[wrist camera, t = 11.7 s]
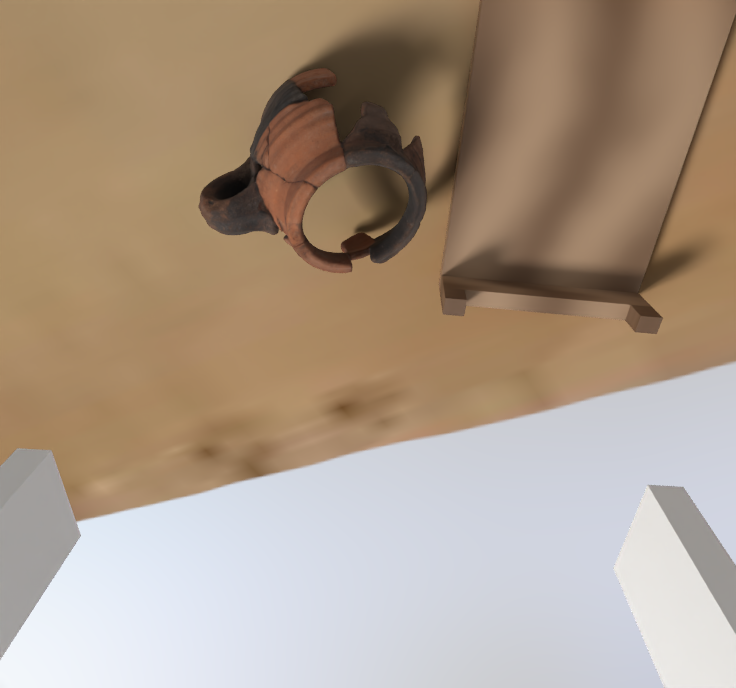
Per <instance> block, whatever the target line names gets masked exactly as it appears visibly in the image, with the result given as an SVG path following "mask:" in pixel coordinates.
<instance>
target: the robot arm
mask: <svg viewBox="0 0 736 688" xmlns="http://www.w3.org/2000/svg"><path fill="white" fill-rule="evenodd" d="M80 536H81V535H80V532H79V529H78V526H77V523H76V520H75V517H74V514H73V512H72V509H71V506H70V503H69V500H68V497H67V494H66V491H65V488H64V485H63V483H62V480H61V477H60V474H59V471H58V468H57V465H56V462H55V459H54V457H53V454H52V451H51V450H36V449H19V448H17V449H16V450H15V451H14V453H13V454H12V455H11V456H10V457H9V458H8V459H7V460H6V461H5V462H4V463H3V464H2V465H1V466H0V659H1V658H2V656H3V655H4V653H5V652H6V650H7V649H8V647H9V646H10V644H11V642H12V641H13V639H14V638H15V636H16V635H17V633H18V632H19V630H20V629H21V627H22V625H23V624H24V622H25V621H26V619H27V618H28V616H29V615H30V613H31V612H32V610H33V609H34V607H35V605H36V604H37V602H38V601H39V599H40V598H41V596H42V595H43V593H44V592H45V590H46V589H47V587H48V585H49V584H50V582H51V581H52V579H53V578H54V576H55V575H56V573H57V572H58V570H59V569H60V567H61V565H62V564H63V562H64V561H65V559H66V558H67V556H68V555H69V553H70V552H71V550H72V549H73V547H74V545H75V544H76V542H77V541H78V539H79V538H80ZM613 569H614V571H615V573H616V576H617V578H618V580H619V583H620V585H621V587H622V590H623V592H624V594H625V597H626V599H627V601H628V604H629V606H630V608H631V611H632V613H633V615H634V618H635V620H636V623H637V625H638V627H639V629H640V632H641V634H642V637H643V639H644V641H645V644H646V646H647V648H648V651H649V653H650V655H651V658H652V660H653V663H654V665H655V667H656V670H657V672H658V674H659V677H660V679H661V681H662V683H663V686H664V688H736V565H735V564H734V562H733V561H732V559H731V558H730V556H729V555H728V553H727V552H726V550H725V549H724V547H723V546H722V544H721V543H720V541H719V540H718V538H717V537H716V535H715V534H714V532H713V531H712V529H711V528H710V526H709V525H708V523H707V522H706V520H705V519H704V517H703V516H702V514H701V513H700V511H699V510H698V508H697V507H696V505H695V504H694V503H693V501H692V499H691V498H690V496H689V495H688V493H687V492H686V490H685V489H684V487H675V486H656V485H647V488H646V490H645V492H644V495H643V497H642V500H641V502H640V505H639V507H638V510H637V512H636V514H635V517H634V519H633V522H632V524H631V527H630V529H629V531H628V534H627V536H626V539H625V541H624V544H623V546H622V548H621V551H620V553H619V556H618V558H617V561H616V563H615V566H614V568H613Z"/></svg>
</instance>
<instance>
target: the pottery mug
mask: <svg viewBox="0 0 736 688" xmlns="http://www.w3.org/2000/svg"><path fill="white" fill-rule="evenodd" d="M336 83H337V79H336V75H335V74H334V73H333V72H331V71H330V70H329V69H326V68H320V69H313V70H309V71H306V72H303V73H300V74H299V75H296V76H294V77H293V78H291V79H290V80H287V81H286V82H285V83H284V84H282V85H281V86H280V87H279V88H278V89H277V90H276V91H275V92H274V94H273V95H272V96H271V98H270V100H269V101H268V103H267V105H266V107H265V109H264V112H263V115H262V118H261V123H260V125H259V127H258V129H257V131H256V134H255V137H254V141H253V144H252V145H251V148H250V153H251V154H250V157H249V158H248V159H247V160H246V162H245V163H244V164H242V165H241V166H240V167H239V168H237V169H235V170H234V171H231V172H228V173H226V174H224V175H222V176H220V177H218V178H216V179H215V180H213V181H212V182H210V183H209V184H208V185H207V186H206V187H205V188H204V189H203V191H202V192H201V195H200V203H199V209H200V211H201V214H202V216H203V217H204V218H205V220H206V222H207V224H208V225H209V226H210V227H211V228H213V229H214V230H216V231H218V232H220V233H222V234H226V235H241V234H246V233H249V232H252V231H264V232H267V233H270V234H272V235H275V234H277V233H278V231H279V229H280V230H281V231H283V232H284V233H285V234H286V236H285V237H284V240H285V241H286V242H287V243H288V244H289V245H291V246H292V247H293V248H294V250H295V251H296V252H297V254H298V255H299V256H300V257H301V258H302V259H303V260H304V261H306V262H307V263H308V264H310V265H312V266H313V267H315V268H318V269H321V270H323V271H328V272H332V273H348V272H351V271H352V263H351V260H356V259H360V258H363V257H365V256H368V255H370V258H371V261H372V262H374V263H384V262H386V261H387V260H389V259H390V258H392V257H393V256H395V255H396V254H397V253H398V252H399V251H400V250H402V249H403V248H404V247H405V246H406V245H407V244H408V243H409V242H410V241H411V239H412V238H413V237H414V235H415V233H416V232H417V230H418V228H419V226H420V222H421V220H422V219H423V216H424V213H425V211H426V201H427V191H426V187H425V183H426V178H425V167H424V157H423V148H422V144H421V140H420V137H419V136H415V137H414V138H413V140H412V142H411V144H410V145H408V146H407V147H406V148H404V149H403V150H402V145H401V136H400V135H399V132H398V129H397V128H396V126H395V125H394V124H393V123H392V122H391V121H390V120H389V118H388V115H387V112H386V110H385V109H384V108H383V107H381V106H379V105H376V104H374V103H371V102H363V103H362V106H361V116H362V117H361V118H360V119H359V120H358V121H357V123H356V124H355V126H354V128H353V130H352V131H351V132H350V133H349V134H348V135H347V137H346V138H345V139H344V140H343V141H342V142H341V141H340V139H339V134H338V130H337V127H336V122H335V117H334V108H333V105H332V104H330V103H329V102H328V101H326V100H324V99H322V98H317V99H313V100H311V101H308V97H307V96H306V95H305V94H304V92H307V91H310V90H313V89H317V88H323V87H329V86H334V85H336ZM363 165H377V166H382V167H385V168H389V169H391V170H393V171H395V172H396V173H398V174H399V175H401V176H402V177H403V179H404V180H405V182H406V184H407V186H408V190H409V201H408V205H407V208H406V211H405V213H404V215H403V216H402V218H401V220H400V221H399V222H398V224H397V225H396V226H395V227H393V228H392V229H391V230H389V231H388V232H386V233H384V234H383V235H381V236H379V237H377V238H375V239H373V238H371V237H370V236H368V235H366V234H365V233H357V234H356V235H354V236H351V237H350V238H348V239H347V240H345V241H344V242H342V243H341V249H342V251H343V252H344V253H332V252H326V251H323V250H320V249H318V248H316V247H314V246H313V245H312V244H311V243H309V241H308V240H307V238H306V237H305V235H304V233H303V228H302V220H303V215H304V211H305V208H306V206H307V204H308V202H309V200H310V198H311V197H312V195H313V194H314V193H315V191H316V190H317V188H318V187H320V186H321V185H322V184H323V183H325V182H326V181H327V180H328V179H330V178H331V177H333V176H335V175H336V174H338V173H340V172H342V171H344V170H346V169H347V168H349V167H357V166H363Z"/></svg>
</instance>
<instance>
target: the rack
mask: <svg viewBox="0 0 736 688" xmlns="http://www.w3.org/2000/svg"><path fill="white" fill-rule="evenodd" d="M735 15H736V0H480V5H479V12H478V19H477V26H476V33H475V40H474V47H473V53H472V60H471V67H470V74H469V81H468V88H467V95H466V101H465V108H464V115H463V122H462V129H461V136H460V143H459V149H458V156H457V163H456V170H455V177H454V184H453V191H452V197H451V204H450V211H449V218H448V225H447V232H446V239H445V245H444V252H443V259H442V266H441V273H440V280H439V289H440V297H441V304H442V311H443V314H446V315H457V316H464V314H465V308H466V306H475V307H486V308H497V309H508V310H519V311H530V312H540V313H551V314H562V315H573V316H584V317H595V318H606V319H617V320H625V321H626V322H627V323H628V324H629V325H630V327H631V328H632V329H633V330H634V331H635V332H640V333H651V334H657V332H658V329H659V327H660V324H661V321H662V319H663V318H662V317H661V316H660V315H659V314H658V313H657V312H656V311H655V310H654V309H653V308H652V307H651V306H650V305H649V304H648V303H647V302H646V301H645V300H644V299H643V298H642V297H641V296H640V295H639V294H638V292H639V289H640V286H641V283H642V281H643V278H644V275H645V272H646V269H647V266H648V263H649V261H650V258H651V255H652V252H653V249H654V246H655V243H656V241H657V238H658V235H659V232H660V229H661V226H662V223H663V220H664V218H665V215H666V212H667V209H668V206H669V203H670V200H671V198H672V195H673V192H674V189H675V186H676V183H677V180H678V178H679V175H680V172H681V169H682V166H683V163H684V160H685V158H686V155H687V152H688V149H689V146H690V143H691V140H692V138H693V135H694V132H695V129H696V126H697V123H698V120H699V118H700V115H701V112H702V109H703V106H704V103H705V100H706V98H707V95H708V92H709V89H710V86H711V83H712V80H713V78H714V75H715V72H716V69H717V66H718V63H719V60H720V58H721V55H722V52H723V49H724V46H725V43H726V40H727V38H728V35H729V32H730V29H731V26H732V23H733V20H734V17H735Z"/></svg>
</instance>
